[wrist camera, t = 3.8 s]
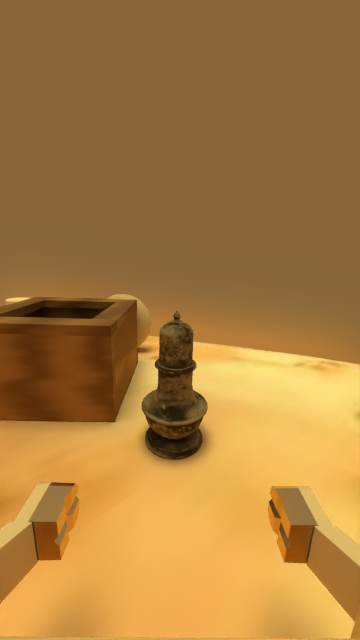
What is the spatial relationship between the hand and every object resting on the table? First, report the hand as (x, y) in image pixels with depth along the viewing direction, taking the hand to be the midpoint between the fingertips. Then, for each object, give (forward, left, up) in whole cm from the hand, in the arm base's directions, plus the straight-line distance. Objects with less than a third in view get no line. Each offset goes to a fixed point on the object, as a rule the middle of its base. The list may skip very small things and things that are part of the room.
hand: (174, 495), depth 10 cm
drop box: (-14, +21, -6) cm, 26 cm away
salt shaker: (0, +12, -7) cm, 13 cm away
